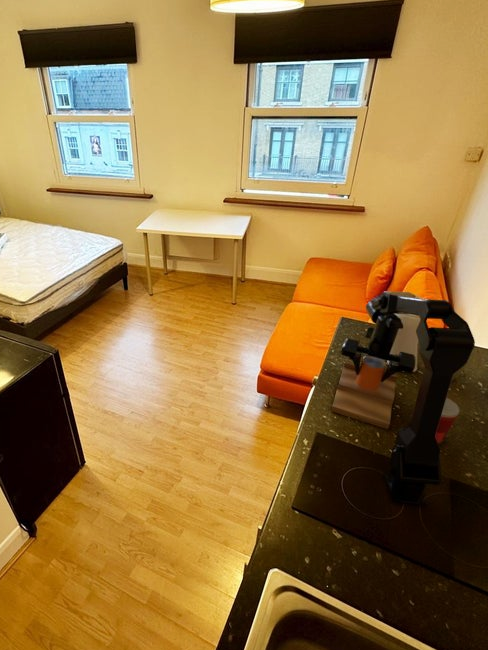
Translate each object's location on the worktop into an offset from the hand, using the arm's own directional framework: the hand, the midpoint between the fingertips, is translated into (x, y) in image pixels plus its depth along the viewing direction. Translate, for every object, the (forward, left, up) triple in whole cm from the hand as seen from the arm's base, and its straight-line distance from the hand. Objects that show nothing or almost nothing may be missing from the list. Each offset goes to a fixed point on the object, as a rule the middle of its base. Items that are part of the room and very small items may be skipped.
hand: (369, 377), depth 111 cm
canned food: (-14, -13, -6) cm, 20 cm away
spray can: (+17, -14, -6) cm, 23 cm away
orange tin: (0, 0, -2) cm, 2 cm away
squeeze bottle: (+13, -27, -6) cm, 30 cm away
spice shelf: (-3, +1, -6) cm, 7 cm away
